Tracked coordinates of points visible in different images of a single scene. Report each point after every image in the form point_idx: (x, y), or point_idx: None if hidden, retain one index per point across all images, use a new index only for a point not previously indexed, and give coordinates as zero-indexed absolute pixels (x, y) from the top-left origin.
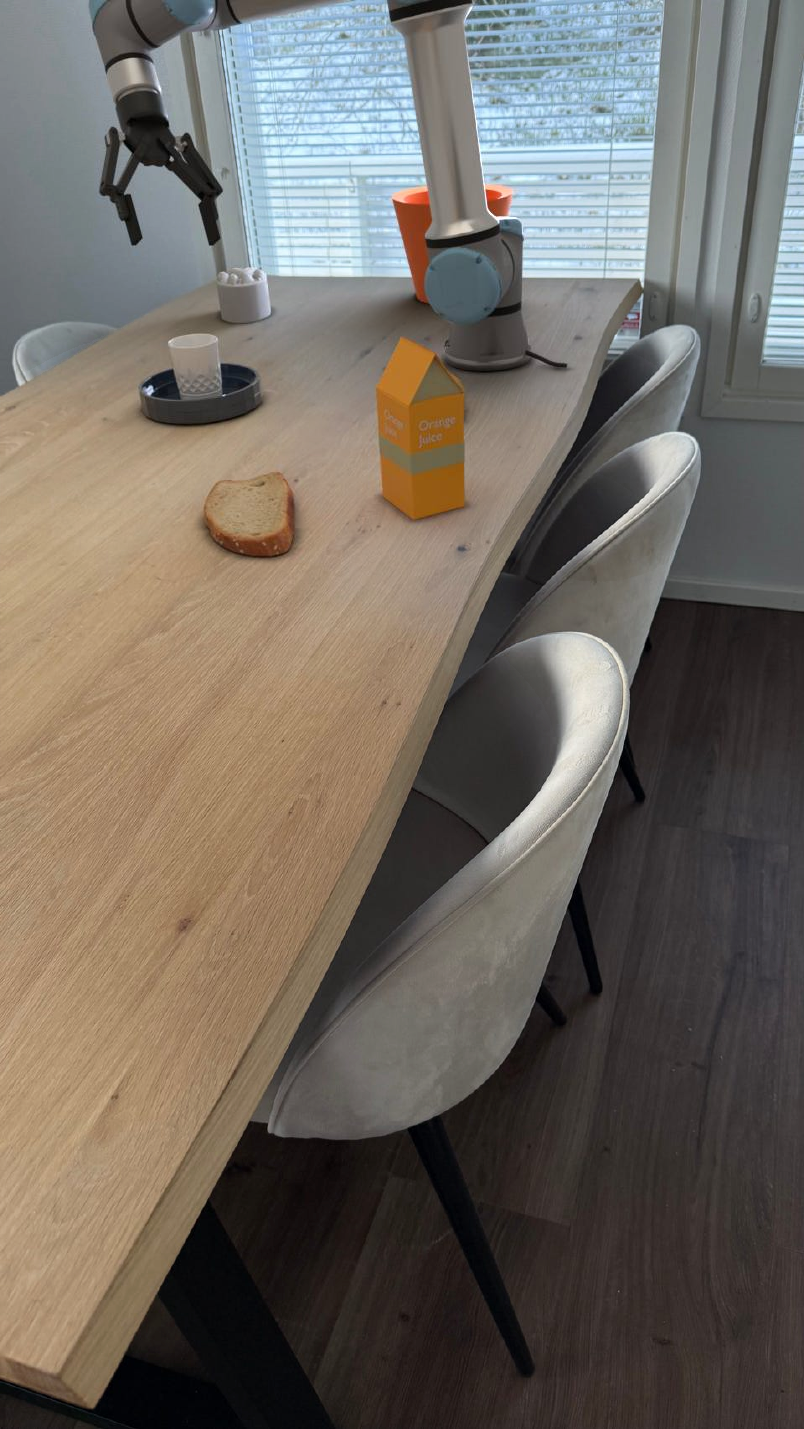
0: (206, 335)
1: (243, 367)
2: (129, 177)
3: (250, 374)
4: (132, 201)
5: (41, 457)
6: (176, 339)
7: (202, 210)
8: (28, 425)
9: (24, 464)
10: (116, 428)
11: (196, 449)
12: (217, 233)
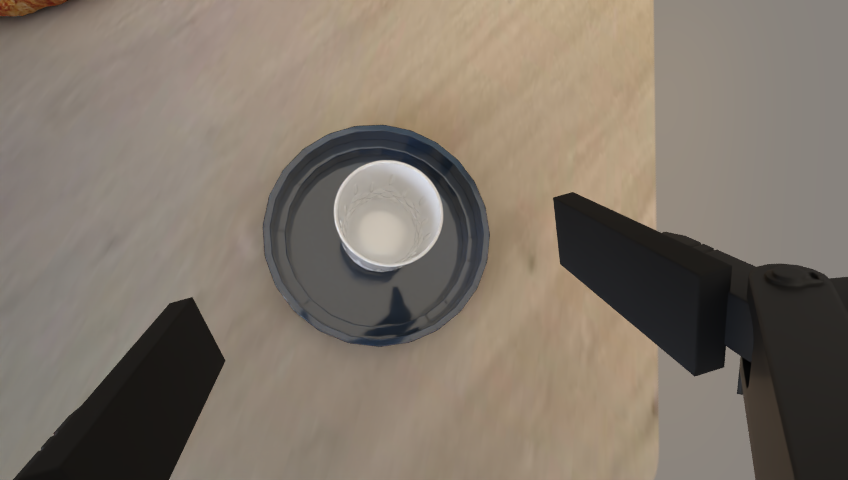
0: (348, 243)
1: (277, 267)
2: (797, 373)
3: (273, 246)
4: (663, 255)
5: (622, 163)
6: (415, 256)
7: (143, 474)
8: None
9: (641, 152)
10: (522, 213)
11: (438, 68)
12: (169, 313)
